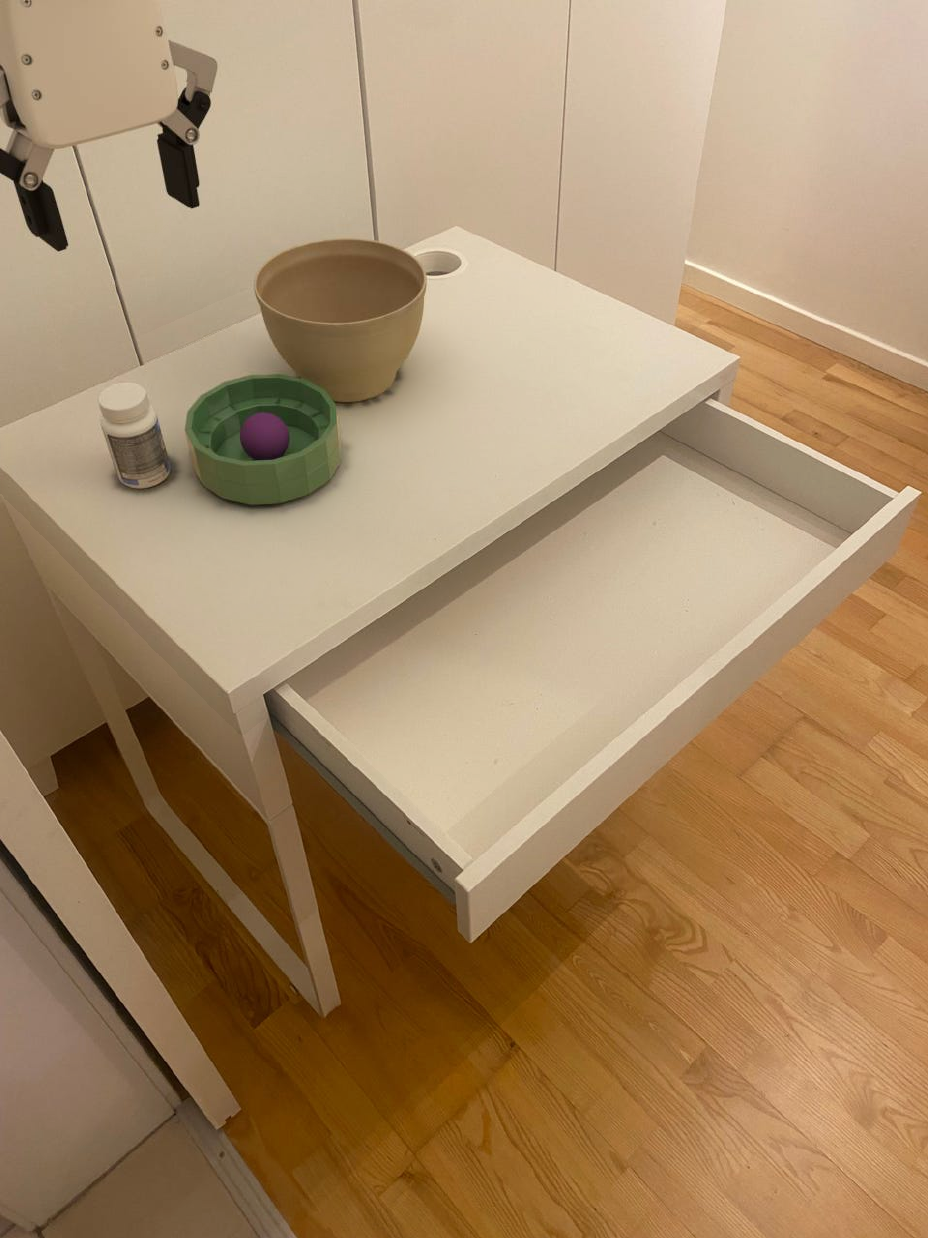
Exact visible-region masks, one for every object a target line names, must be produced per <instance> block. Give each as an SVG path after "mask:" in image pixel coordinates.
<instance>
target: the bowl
mask: <svg viewBox="0 0 928 1238" xmlns="http://www.w3.org/2000/svg"><path fill="white" fill-rule="evenodd" d="M262 412H266V413H271V414H274V415H276V416H278V417H279V418H280V419H281V420H282V421H283V422H284V423H285V424H286V426H287V428H288V431H289V436H290V440H289V445H288V448H287V450H286V452H285V453H284V454H283V455H282V456H281V457H280V458H277V459H274V460H258V461H257V460H255V459H253V458H251V457H250V456H249V455H248V454H247V453H246V452H245V451H244V449H243V447H242V445H241V442H240V431H241V428H242V425H243V424H244V422H245V421H246V420H247V419H248V418H249V417H250V416H252V415H254V414H257V413H262ZM339 427H340V426H339V416H338V407H337V403H335V401H333V400H332V399H331V397H330V396H329V395H328V393H327V392H326V391H325V390H324V389H322V388H320V387H319V386H317V385H315V384H313V383H311V382H309V381H307V380H306V379H302V378H301V377H297V376H292V375H287V374H281V373H271V374H270V373H268V374H267V373H266V374H263V373H262V374H250V375H246V376H241V377H238V378H235V379H231V380H227V381H224V382H222V383H220V384H218V385H215V386H214V387H213V388H211V389H209V390H208V391H206V392H204V393H202V394H201V395H200V396H199V397H198V398H197V399H196V400H195V402H194V403H193V404H192V405H191V407H190V408H189V409H188V410H187V411H186V418H185V426H184V434H185V437H186V442H187V447H188V450H189V454H190V458H191V461H192V467H193V470H194V471H195V473H196V475H197V477H198V479H199V481H200V483H201V484H202V486H203V487H205V488H206V489H208V490H209V491H210V492H212V493H214V494H215V495H217V496H218V497H220V498H222V499H224V500H227V501H228V500H229V501H233V502H237V503H241V504H246V505H253V506H254V505H270V504H271V505H272V504H283V503H285V502H288V501H292V500H294V499H298V498H301V497H305V496H308V495H310V494H312V493H313V492H314V491H316V490H317V489H318V488H320V487H321V486H323V485H324V484H326V483H327V482H328V481H330V480H331V478H332V476H333V475H334V474H335V472H336V470H337V468H338V467H339V465H340V464H341V461H342V460H341V459H342V458H341V456H342V455H341V438H340V437H341V436H340V428H339Z"/></svg>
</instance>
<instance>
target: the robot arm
mask: <svg viewBox="0 0 928 1238" xmlns="http://www.w3.org/2000/svg"><path fill="white" fill-rule="evenodd" d="M163 18H164V17H163V15H162V11H161V7H160V3H159V0H0V119H1V121H2V123H3V124H4V125H5V126H6V127H8V128H9V129H12V132H11V135H10V136H9V137H10V138H9V140H8V142H7V145H6V148H5V149H3V148H1V147H0V174H1V175H2V176H4V177H6V178H7V179H9V180H11V181H13V185H14V188H15V191H16V194H17V198H18V201H19V204H20V208H21V211H22V214H23V217H24V220H25V223H26V227H27V228H28V230H29V231H30V233H31V234H32V235H33V236H34V237H36V238H39V239H40V240H42V241H43V242H45V243H46V244H47V245H48V246H50V247H51V248H52V249H54V250H55V251H56V252H58V253H59V252H62V251H65V250H67V249H68V247H69V242H68V238H67V235H66V231H65V227H64V224H63V220H62V217H61V213H60V209H59V206H58V203H57V199H56V195H55V193H54V192H55V191H54V189H53V188H52V186H50V185H49V184H47V183H46V182H44V181H43V180H44V177H45V174H46V171H47V170H48V166H49V164H50V161H51V160H52V157H53V154H54V152H55V150H60V149H61V150H62V149H65V148H70V147H74V146H79V145H81V144H86V143H89V142H93V141H98V140H101V139H105V138H108V137H112V136H116V135H119V134H124V133H127V132H131V131H135V130H138V129H142V128H145V127H150V126H153V125H155V124H156V125H158V126H159V128H161V129H162V132H161V133H158V134H157V135H156V136H157V139H156V145H157V149H158V154H159V160H160V164H161V171H162V176H163V181H164V184H165V190H166V191H165V192H166V193H167V195H168V196H169V197H171V198H173V199H174V200H176V201H177V202H179V203H180V204H182V205H183V206H185V207H187V208H190V209H195V208H199V207H200V205H201V204H200V198H199V191H198V188H199V187H200V184H201V183H200V177H199V171H198V166H197V159H196V152H195V148H194V147H195V146H194V145H196V144H197V143H198V142H199V140H200V137H201V133H200V130H199V129H200V127H201V126H202V124H203V122H204V120H205V118H206V116H207V114H208V112H209V110H210V108H211V107H212V106H211V105H212V100H211V97H210V96H211V93H213V89H214V85H215V80H216V76H217V72H218V62H217V61H216V59H215V58H213V57H211V56H209V55H207V54H205V53H203V52H201V51H198V50H196V49H193V48H190V47H188V46H185V45H184V44H180V43H178V42H175V41H174V40H171V39H169V38H168V34H167V30H166V26H165V22H164V19H163ZM175 67H178V68H180V69H182V70H185V71H186V74H187V75H186V77H187V78H186V81H185V82H186V87H184V88H183V89H182V91H181V94H180V95H179V93H178V84H177V83H178V82H177V77H176V71H175Z"/></svg>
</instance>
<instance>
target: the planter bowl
mask: <svg viewBox="0 0 928 1238" xmlns="http://www.w3.org/2000/svg"><path fill="white" fill-rule="evenodd" d="M427 285H428V278H427V272H426V269H425V267H424V265H423V264H422V262H421V261H420V260H419V259H418V258H417V257H416V256H414V255H413V254H412V253H410V252H409V251H407V250H406V249H403V248H401V247H399V246H396V245H393V244H390V243H387V242H384V241H380V240H374V239H368V238H357V237H338V238H327V239H320V240H319V239H318V240H314V241H313V240H312V241H308V242H304V243H300V244H298V245H294V246H292V247H289V248H286V249H284V250H282V251H280V252H278V253H276V254H275V255H273V256H272V257H270V258H269V259H267V260H266V261H265V262H264V263H262V264H261V266H260V267H259V269H258V270H257V272H256V274H255V277H254V280H253V288H254V289H253V290H254V295H255V297H256V300H257V303H258V305H259V309H260V312H261V313H260V314H261V316H262V320H263V323H264V326H265V329H266V332H267V334H268V337H269V338H270V340H271V342H272V344H273V346H274V347H275V349H276V351H277V353H279V355H280V357H281V358H282V359H283V361H284V362H285V363H286V364H287V365H288V366H289V367H290V368H291V370H292V371H293V372H295V374H296V375H298V376H299V378H302V379H306V380H307V381H309V382H311V383H313V384H315V385H317V386H319V387H320V388H322V389H324V390H325V391H326V392H327V393H328V395H329V396H330V397H331V399H332V400H333V401H334V402H339V403H352V402H361V401H365V400H369V399H372V398H374V397H377V396H379V395H381V394H383V393H384V392H385V391H387V390H388V389H389V388H390V387H391V386H392V385H393V383H394V382H395V379H396V376H397V372H398V371H399V369H400V368H401V367H402V366H403V365H404V363H405V362H406V360H407V358H408V357H409V355H410V353H411V351H412V350H413V348H414V346H415V343H416V341H417V338H418V336H419V333H420V330H421V327H422V321H423V318H424V317H423V315H424V309H425V294H426V291H427Z"/></svg>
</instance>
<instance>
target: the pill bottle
mask: <svg viewBox="0 0 928 1238" xmlns="http://www.w3.org/2000/svg"><path fill="white" fill-rule="evenodd" d="M97 402H98V406H99V409H100V412H101V418H100V427H101V430H102V433H103V436H104V438H105V442H106V445H107V449H108V451H109V453H110V457H111V460H112V463H113V467H114V470H115V472H116V475H117V478H118V479H119V481H120V482H121V484H122V485H125V486H126V487H129V488H132V489H148V488H151V487H154V486H157V485H159V484H161V483H162V482H163V481H165V480H166V479H167V478H168V476H169V475H170V472H171V462H170V458H169V455H168V451H167V448H166V445H165V444H166V443H165V441H164V436H163V433H162V430H161V425H160V422H159V417H158V415H157V414H158V413H157V412H156V410H155V408H154V407H153V406H152V405H150V399H149V397H148V394H147V391H146V390H145V388H144V387H143V386H142V385H141V384H138V383H135V382H127V381H126V382H119V383H114V384H111V385H109V386H107V387H106V388H104V389H103V390H102V391H101V392H100V393H99V395H98V397H97Z"/></svg>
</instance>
